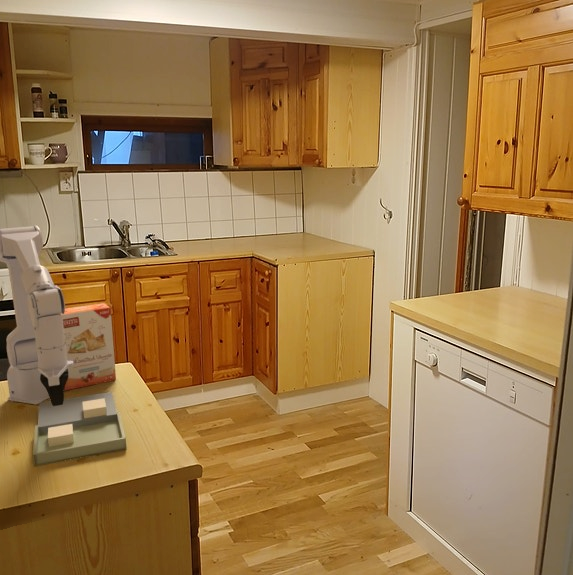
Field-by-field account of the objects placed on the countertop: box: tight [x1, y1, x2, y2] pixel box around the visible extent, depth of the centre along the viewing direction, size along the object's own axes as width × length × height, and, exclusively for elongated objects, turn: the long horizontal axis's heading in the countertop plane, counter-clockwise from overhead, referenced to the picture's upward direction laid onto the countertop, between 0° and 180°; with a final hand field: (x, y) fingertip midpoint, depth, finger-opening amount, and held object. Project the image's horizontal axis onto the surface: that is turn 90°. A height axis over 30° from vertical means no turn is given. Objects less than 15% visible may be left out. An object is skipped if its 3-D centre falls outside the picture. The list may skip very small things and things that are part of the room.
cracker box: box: [61, 302, 117, 392], centre depth 157 cm, size 14×6×21 cm, turn 122°
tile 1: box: [48, 424, 74, 447], centre depth 128 cm, size 5×5×2 cm
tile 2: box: [82, 398, 107, 419], centre depth 137 cm, size 5×5×2 cm
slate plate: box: [37, 391, 118, 434], centre depth 139 cm, size 14×17×2 cm
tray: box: [32, 411, 128, 467], centre depth 127 cm, size 14×18×2 cm
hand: (57, 404), depth 128 cm, fingers closed
